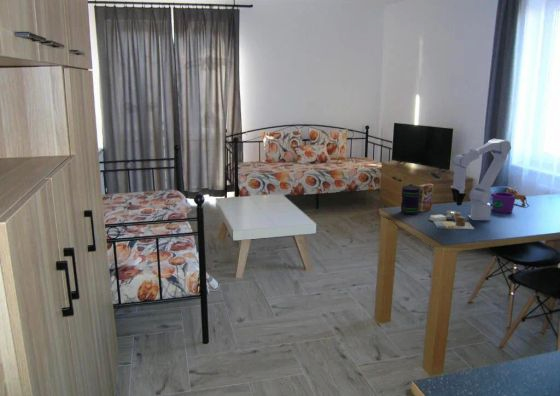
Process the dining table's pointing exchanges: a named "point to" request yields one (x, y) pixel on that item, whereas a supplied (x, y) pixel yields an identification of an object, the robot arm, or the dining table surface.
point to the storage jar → (410, 200)
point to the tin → (450, 215)
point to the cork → (457, 215)
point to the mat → (452, 225)
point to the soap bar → (438, 218)
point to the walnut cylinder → (460, 221)
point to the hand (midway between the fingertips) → (457, 203)
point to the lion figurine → (517, 196)
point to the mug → (503, 202)
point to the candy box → (425, 197)
